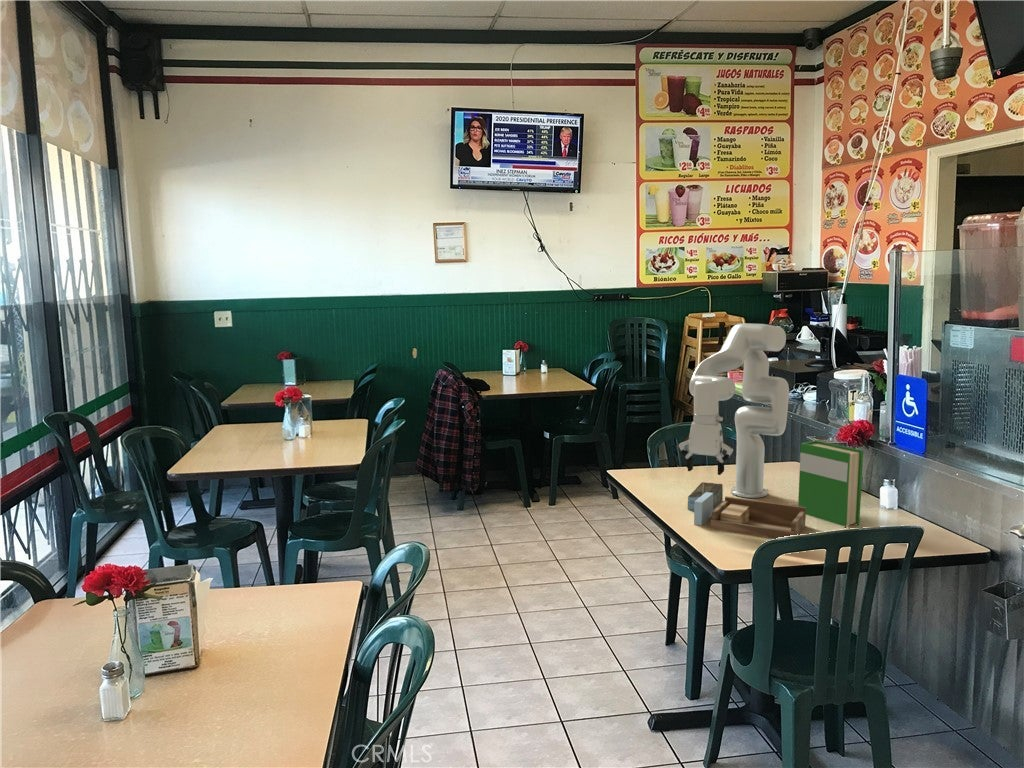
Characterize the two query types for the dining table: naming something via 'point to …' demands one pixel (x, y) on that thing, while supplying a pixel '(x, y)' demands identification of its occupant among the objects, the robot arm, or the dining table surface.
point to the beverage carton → (703, 488)
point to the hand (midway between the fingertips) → (705, 472)
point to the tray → (762, 518)
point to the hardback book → (831, 482)
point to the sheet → (703, 508)
